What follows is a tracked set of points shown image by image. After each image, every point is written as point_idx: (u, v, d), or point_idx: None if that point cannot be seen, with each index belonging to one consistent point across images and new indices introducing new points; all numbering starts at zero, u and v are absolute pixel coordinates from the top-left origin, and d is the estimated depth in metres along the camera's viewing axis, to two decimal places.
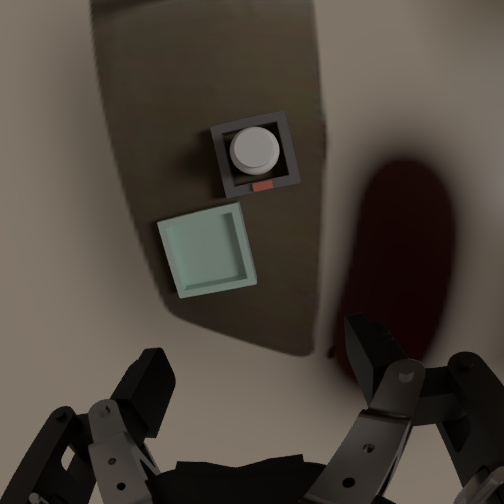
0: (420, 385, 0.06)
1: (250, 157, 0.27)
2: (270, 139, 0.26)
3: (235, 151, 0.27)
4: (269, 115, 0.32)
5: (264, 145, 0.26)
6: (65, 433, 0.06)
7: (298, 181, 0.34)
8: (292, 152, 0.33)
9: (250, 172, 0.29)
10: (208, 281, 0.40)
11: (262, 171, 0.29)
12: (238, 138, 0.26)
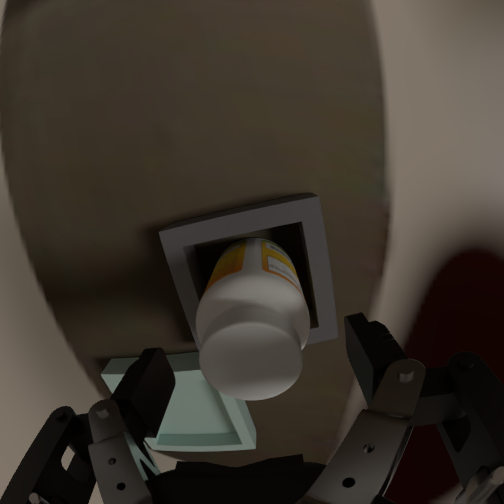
0: (420, 385, 0.06)
1: (243, 384, 0.10)
2: (295, 348, 0.10)
3: (204, 372, 0.10)
4: (286, 207, 0.15)
5: (279, 362, 0.10)
6: (65, 433, 0.06)
7: (334, 336, 0.18)
8: (329, 286, 0.17)
9: None
10: (188, 433, 0.24)
11: None
12: (209, 346, 0.10)
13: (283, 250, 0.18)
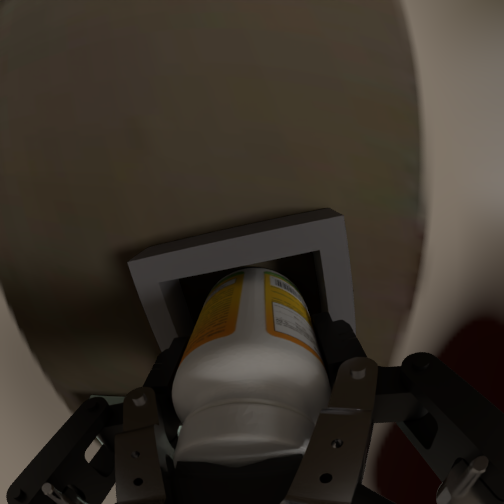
0: (370, 382, 0.07)
1: None
2: None
3: None
4: (298, 231, 0.11)
5: None
6: (93, 426, 0.07)
7: None
8: None
9: None
10: None
11: None
12: (185, 456, 0.05)
13: (292, 284, 0.13)
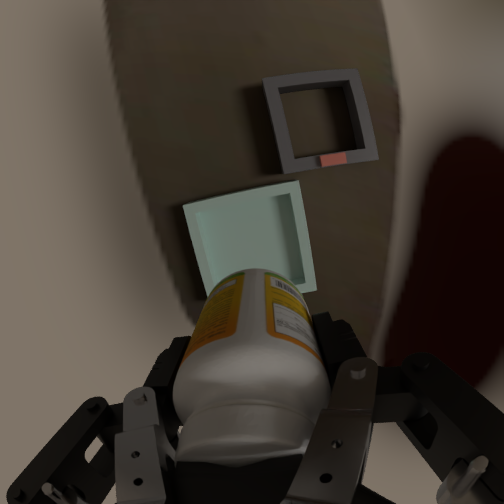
0: (370, 382, 0.07)
1: None
2: None
3: None
4: (339, 71, 0.22)
5: None
6: (93, 426, 0.07)
7: (376, 157, 0.24)
8: (368, 120, 0.23)
9: None
10: None
11: None
12: (186, 457, 0.05)
13: (293, 285, 0.14)
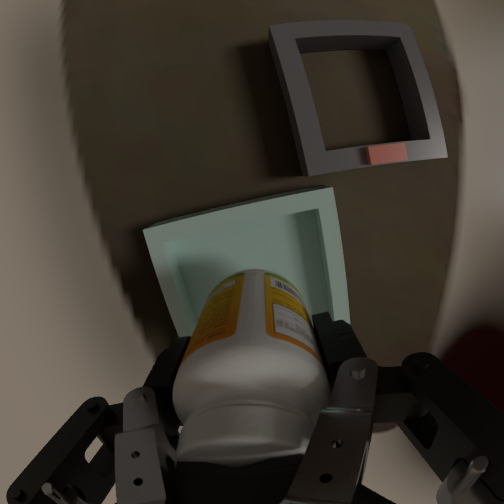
0: (370, 382, 0.07)
1: None
2: None
3: None
4: (386, 24, 0.12)
5: None
6: (93, 426, 0.07)
7: (444, 154, 0.14)
8: (432, 97, 0.13)
9: None
10: None
11: None
12: (186, 457, 0.05)
13: (293, 286, 0.14)
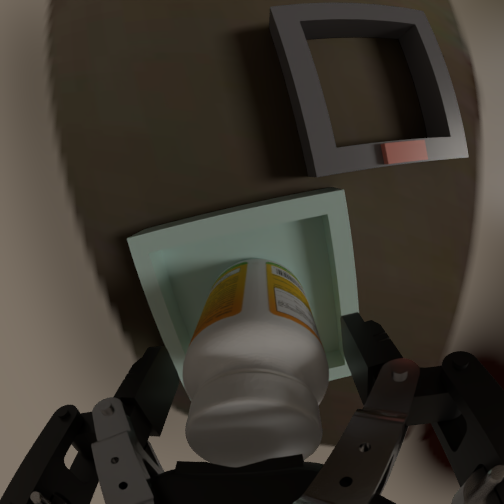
0: (414, 384, 0.06)
1: (244, 459, 0.07)
2: (314, 425, 0.06)
3: (193, 446, 0.07)
4: (399, 10, 0.09)
5: (291, 439, 0.07)
6: (68, 432, 0.06)
7: (465, 153, 0.12)
8: (451, 90, 0.11)
9: None
10: None
11: None
12: (197, 423, 0.06)
13: (292, 274, 0.15)
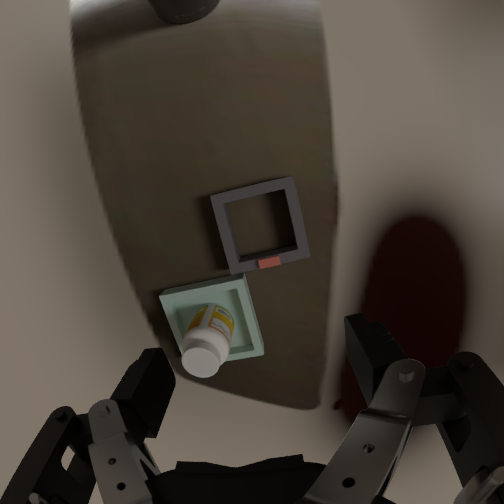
0: (420, 385, 0.06)
1: (198, 370, 0.27)
2: (214, 357, 0.27)
3: (183, 365, 0.27)
4: (276, 182, 0.30)
5: (209, 362, 0.27)
6: (65, 433, 0.06)
7: (307, 255, 0.32)
8: (301, 224, 0.31)
9: None
10: None
11: None
12: (184, 355, 0.27)
13: (226, 310, 0.35)
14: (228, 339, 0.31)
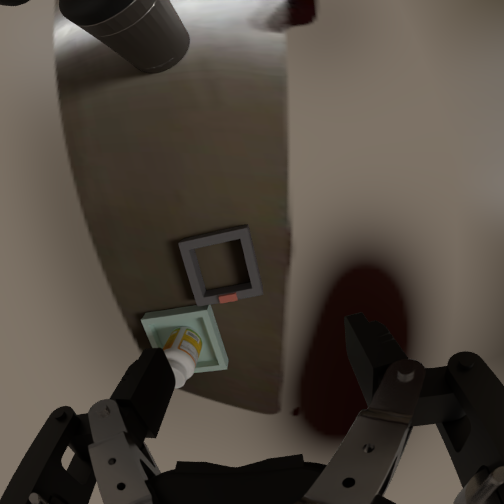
0: (420, 385, 0.06)
1: None
2: (181, 374, 0.33)
3: None
4: (233, 233, 0.36)
5: (177, 377, 0.33)
6: (65, 433, 0.06)
7: (260, 293, 0.38)
8: (255, 268, 0.37)
9: None
10: None
11: None
12: None
13: (195, 332, 0.41)
14: (194, 358, 0.37)
